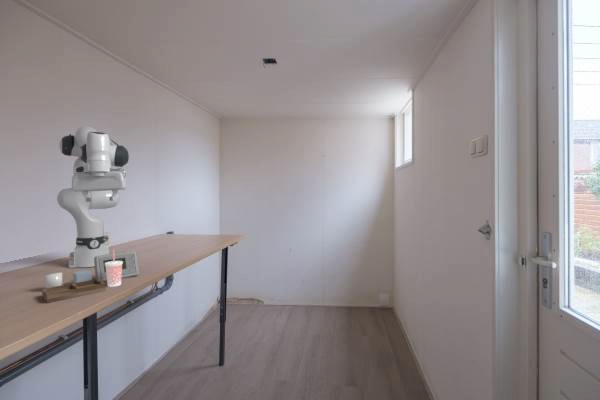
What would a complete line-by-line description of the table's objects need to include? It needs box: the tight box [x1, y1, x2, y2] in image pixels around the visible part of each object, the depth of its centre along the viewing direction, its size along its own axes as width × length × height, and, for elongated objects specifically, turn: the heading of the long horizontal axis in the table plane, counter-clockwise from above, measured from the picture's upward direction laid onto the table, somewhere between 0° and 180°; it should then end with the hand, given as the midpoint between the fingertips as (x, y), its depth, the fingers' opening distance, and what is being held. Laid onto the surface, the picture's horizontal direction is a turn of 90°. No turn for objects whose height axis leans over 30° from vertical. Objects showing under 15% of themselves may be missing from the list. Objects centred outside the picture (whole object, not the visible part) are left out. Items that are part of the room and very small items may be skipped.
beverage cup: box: [105, 249, 123, 288], centre depth 121 cm, size 6×6×14 cm
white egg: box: [44, 271, 64, 289], centre depth 116 cm, size 5×5×6 cm
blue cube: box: [72, 269, 93, 283], centre depth 123 cm, size 5×5×5 cm
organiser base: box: [41, 278, 107, 304], centre depth 111 cm, size 9×17×3 cm, turn 138°
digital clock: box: [94, 250, 140, 283], centre depth 131 cm, size 16×9×11 cm, turn 123°
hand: (100, 201), depth 130 cm, fingers open, 8 cm apart
